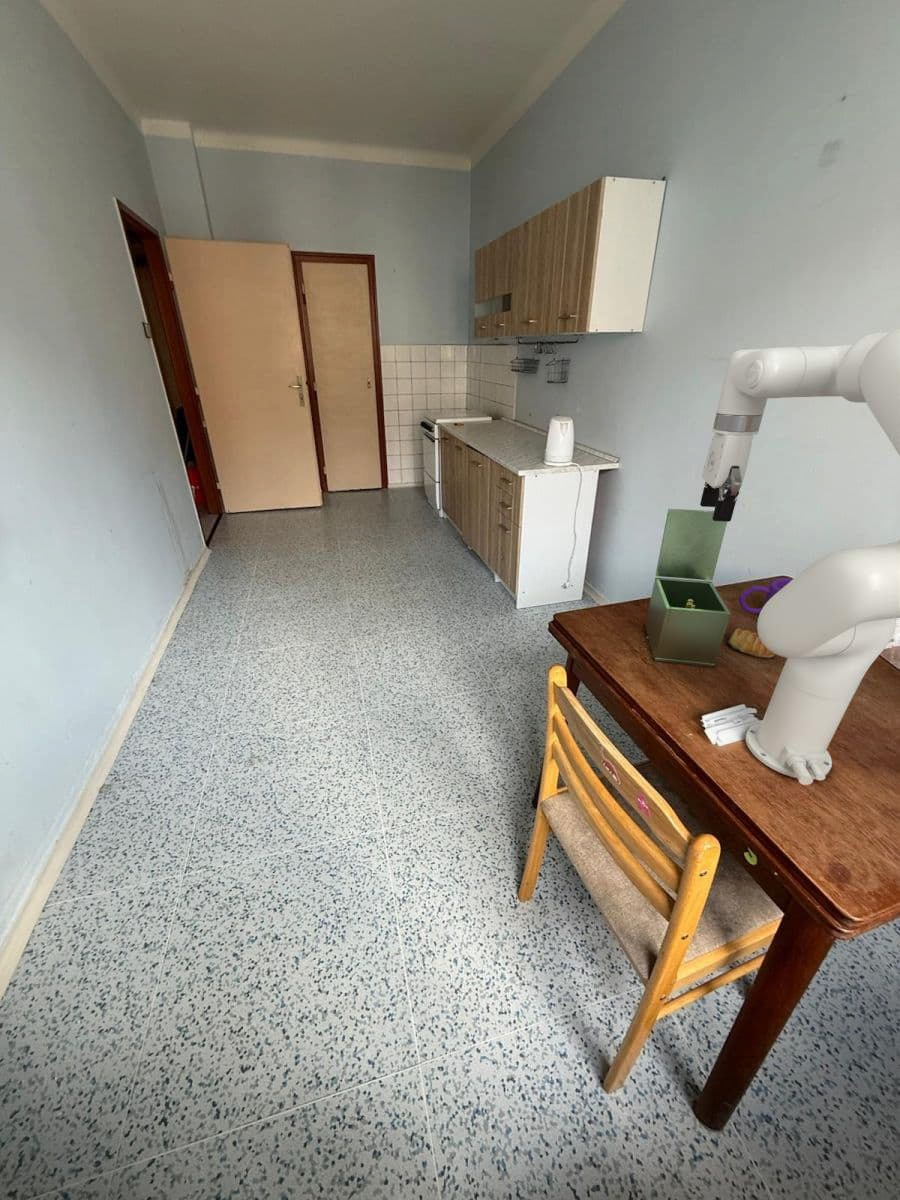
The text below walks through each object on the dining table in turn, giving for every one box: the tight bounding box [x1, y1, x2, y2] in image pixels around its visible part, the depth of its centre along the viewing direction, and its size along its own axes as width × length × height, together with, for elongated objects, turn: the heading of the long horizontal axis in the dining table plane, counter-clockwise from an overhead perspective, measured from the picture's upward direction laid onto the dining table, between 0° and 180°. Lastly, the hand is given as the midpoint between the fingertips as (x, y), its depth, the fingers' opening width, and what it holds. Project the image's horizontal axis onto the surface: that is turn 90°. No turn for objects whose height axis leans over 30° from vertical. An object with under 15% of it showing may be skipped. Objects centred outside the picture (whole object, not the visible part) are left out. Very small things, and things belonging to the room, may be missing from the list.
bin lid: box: [655, 508, 728, 581], centre depth 109 cm, size 16×13×1 cm
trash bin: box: [644, 577, 731, 668], centre depth 110 cm, size 16×13×14 cm
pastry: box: [727, 627, 776, 658], centre depth 110 cm, size 9×7×4 cm
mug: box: [738, 577, 794, 614], centre depth 120 cm, size 17×11×10 cm, turn 71°
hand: (714, 513), depth 95 cm, fingers open, 9 cm apart
